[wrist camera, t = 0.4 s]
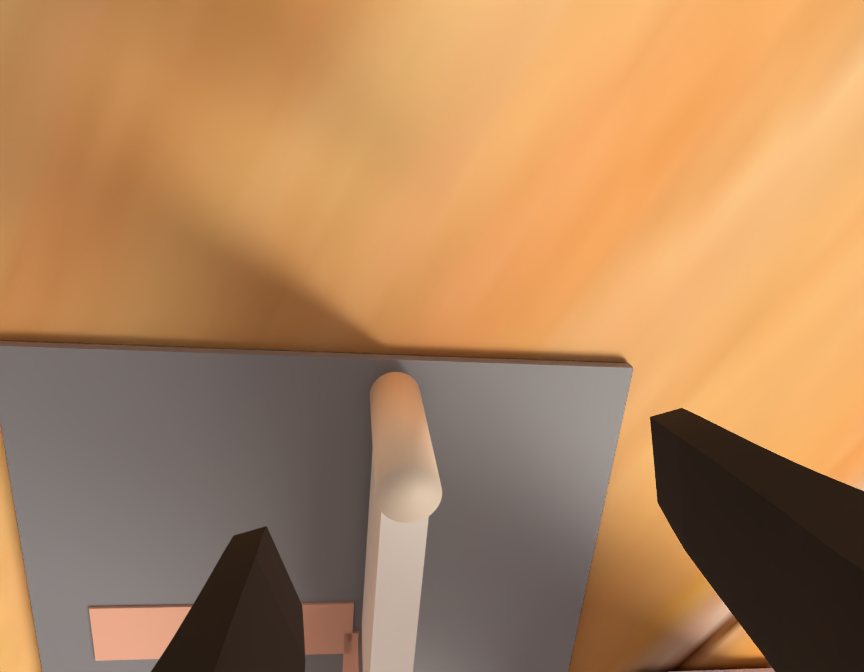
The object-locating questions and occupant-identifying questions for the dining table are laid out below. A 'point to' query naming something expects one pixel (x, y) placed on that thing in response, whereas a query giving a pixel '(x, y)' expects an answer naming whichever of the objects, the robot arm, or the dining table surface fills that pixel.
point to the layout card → (301, 494)
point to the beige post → (396, 524)
